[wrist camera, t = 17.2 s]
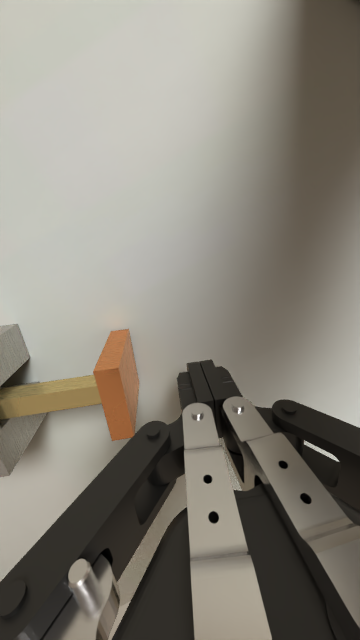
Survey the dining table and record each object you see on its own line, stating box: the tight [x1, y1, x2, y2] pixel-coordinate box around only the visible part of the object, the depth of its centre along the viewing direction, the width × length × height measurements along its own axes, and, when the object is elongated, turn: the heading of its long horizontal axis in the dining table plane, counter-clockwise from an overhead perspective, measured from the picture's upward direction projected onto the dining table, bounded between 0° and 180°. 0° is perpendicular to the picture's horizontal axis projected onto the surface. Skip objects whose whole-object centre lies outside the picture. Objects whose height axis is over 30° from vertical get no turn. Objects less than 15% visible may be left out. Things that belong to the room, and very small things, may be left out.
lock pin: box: [0, 329, 139, 441], centre depth 14 cm, size 12×4×5 cm, turn 96°
